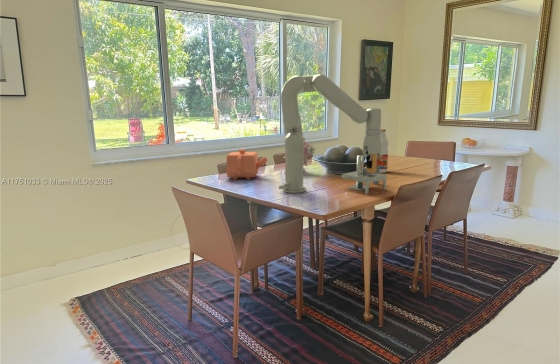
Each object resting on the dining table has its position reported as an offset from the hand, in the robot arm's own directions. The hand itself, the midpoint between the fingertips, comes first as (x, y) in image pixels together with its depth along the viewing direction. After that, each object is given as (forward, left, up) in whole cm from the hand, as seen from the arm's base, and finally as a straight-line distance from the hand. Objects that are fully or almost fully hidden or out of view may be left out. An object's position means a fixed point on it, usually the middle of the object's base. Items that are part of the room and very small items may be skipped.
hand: (371, 167), depth 197 cm
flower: (+2, +60, -13) cm, 61 cm away
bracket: (+9, +8, -13) cm, 17 cm away
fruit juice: (+46, +28, -13) cm, 55 cm away
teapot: (-29, +73, -13) cm, 79 cm away
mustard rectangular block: (0, 0, -3) cm, 3 cm away
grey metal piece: (0, +5, -13) cm, 14 cm away
